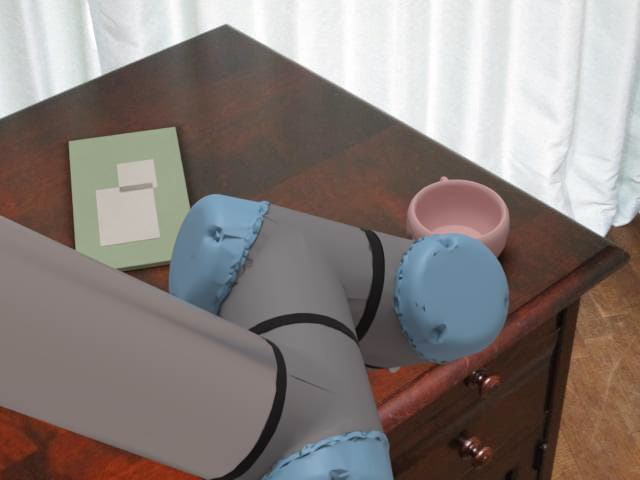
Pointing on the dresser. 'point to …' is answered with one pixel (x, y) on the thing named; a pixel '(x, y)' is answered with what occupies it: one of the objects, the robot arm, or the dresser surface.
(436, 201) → the mug
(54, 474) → the dresser surface
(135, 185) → the chalk board
